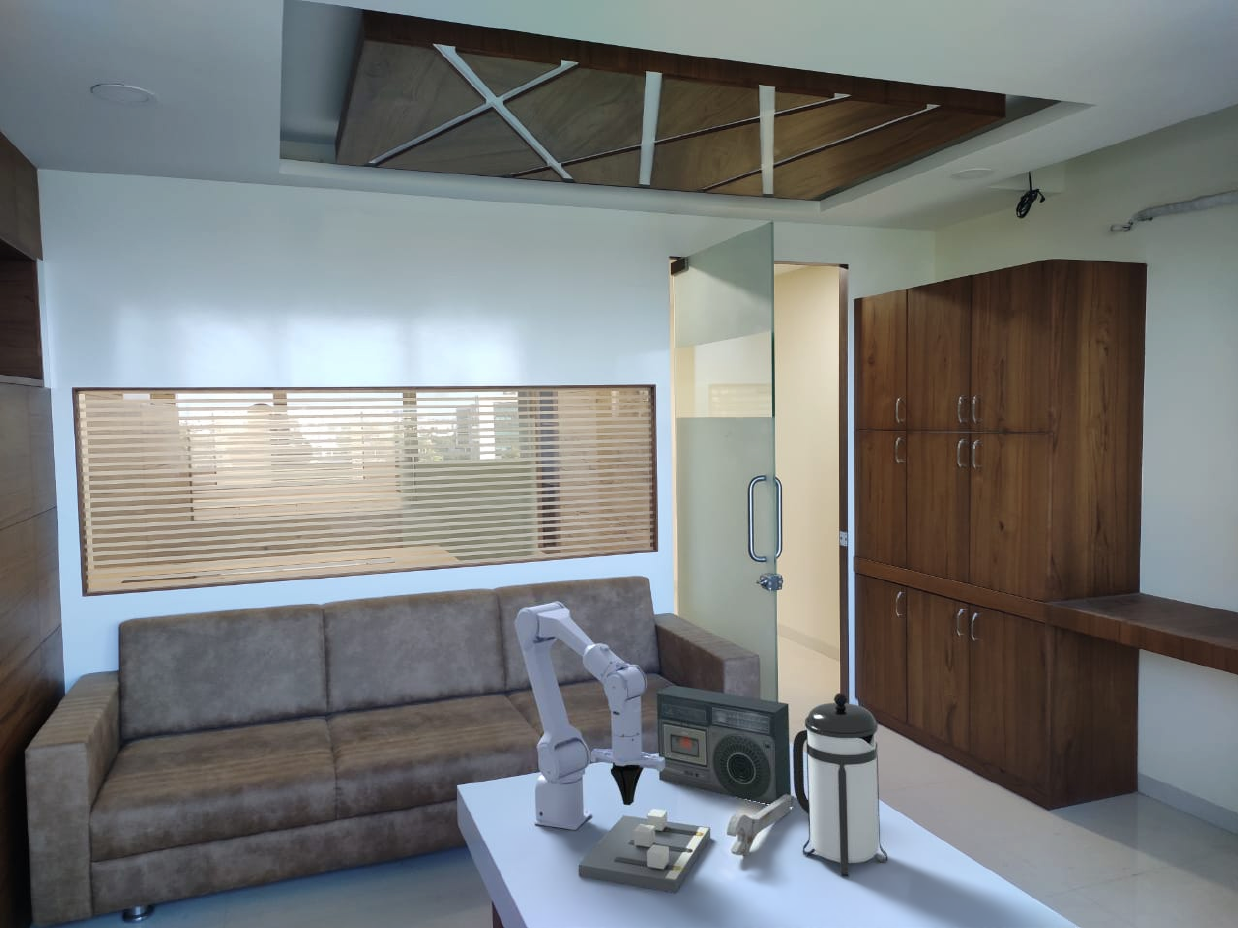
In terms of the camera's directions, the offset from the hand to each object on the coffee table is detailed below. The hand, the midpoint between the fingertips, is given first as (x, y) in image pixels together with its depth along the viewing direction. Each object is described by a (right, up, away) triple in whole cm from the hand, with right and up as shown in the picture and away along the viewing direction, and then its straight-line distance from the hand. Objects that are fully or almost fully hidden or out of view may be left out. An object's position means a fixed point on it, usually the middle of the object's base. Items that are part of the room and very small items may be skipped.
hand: (628, 802), depth 162 cm
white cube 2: (+3, -6, -4) cm, 8 cm away
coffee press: (+38, -7, -6) cm, 39 cm away
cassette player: (+21, -8, +27) cm, 35 cm away
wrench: (+26, -8, +4) cm, 28 cm away
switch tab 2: (+5, -6, -12) cm, 14 cm away
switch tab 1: (+6, -6, +3) cm, 8 cm away
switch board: (+3, -8, -4) cm, 10 cm away
